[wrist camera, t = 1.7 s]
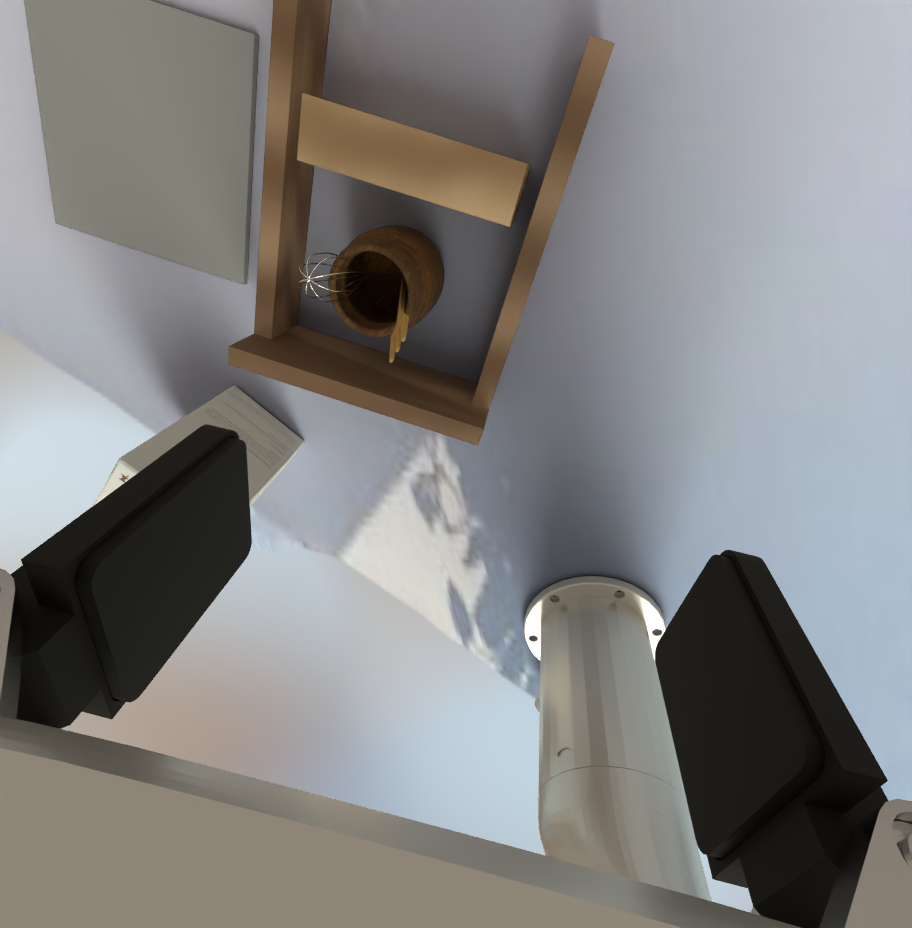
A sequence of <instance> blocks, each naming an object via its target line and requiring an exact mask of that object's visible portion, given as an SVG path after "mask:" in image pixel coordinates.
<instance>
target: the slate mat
mask: <svg viewBox="0 0 912 928" xmlns="http://www.w3.org/2000/svg"><path fill="white" fill-rule="evenodd" d="M24 4H25V11H26V18H27V25H28V32H29V39H30V46H31V53H32V60H33V67H34V74H35V81H36V88H37V95H38V102H39V109H40V117H41V124H42V131H43V138H44V145H45V152H46V159H47V166H48V173H49V180H50V187H51V194H52V201H53V208H54V215H55V222H56V224H59V225H62V226H65V227H68V228H71V229H74V230H77V231H80V232H84V233H87V234H90V235H93V236H96V237H99V238H102V239H105V240H108V241H111V242H114V243H117V244H120V245H123V246H127V247H130V248H133V249H136V250H139V251H142V252H145V253H148V254H151V255H154V256H157V257H160V258H163V259H166V260H169V261H173V262H176V263H179V264H182V265H185V266H188V267H191V268H194V269H197V270H200V271H203V272H206V273H209V274H212V275H216V276H219V277H222V278H225V279H228V280H231V281H234V282H237V283H240V284H243V285H244V284H247V276H248V255H249V234H250V213H251V192H252V171H253V150H254V129H255V108H256V88H257V67H258V46H259V36H257V35H255V34H252V33H249V32H246V31H243V30H240V29H237V28H234V27H231V26H228V25H225V24H222V23H219V22H215V21H212V20H209V19H206V18H203V17H200V16H197V15H194V14H191V13H188V12H185V11H182V10H179V9H175V8H172V7H169V6H166V5H163V4H160V3H157V2H154V1H151V0H24Z"/></svg>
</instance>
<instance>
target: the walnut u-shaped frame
mask: <svg viewBox="0 0 912 928" xmlns="http://www.w3.org/2000/svg"><path fill="white" fill-rule="evenodd" d="M331 1H332V0H274V1H273V18H272V35H271V52H270V70H269V87H268V104H267V121H266V138H265V156H264V173H263V190H262V207H261V225H260V242H259V259H258V276H257V293H256V311H255V328H254V334H253V335H251V336H249V337H247V338H245V339H243V340H240V341H238V342H236V343H234V344H232V345H230V346H229V361H228V364H229V365H232V366H235V367H238V368H241V369H244V370H247V371H250V372H254V373H257V374H260V375H263V376H266V377H269V378H272V379H275V380H278V381H281V382H284V383H287V384H290V385H293V386H296V387H300V388H303V389H306V390H309V391H312V392H315V393H318V394H321V395H324V396H327V397H330V398H333V399H336V400H339V401H342V402H346V403H349V404H352V405H355V406H358V407H361V408H364V409H367V410H370V411H373V412H376V413H379V414H382V415H385V416H389V417H392V418H395V419H398V420H401V421H404V422H407V423H410V424H413V425H416V426H419V427H422V428H425V429H428V430H431V431H435V432H438V433H441V434H444V435H447V436H450V437H453V438H456V439H459V440H462V441H465V442H468V443H471V444H474V445H477V446H478V444H479V441H480V438H481V436H482V433H483V430H484V426H485V422H486V418H487V415H488V411H489V408H490V405H491V402H492V399H493V396H494V393H495V390H496V387H497V384H498V381H499V379H500V376H501V373H502V370H503V367H504V364H505V361H506V358H507V355H508V352H509V349H510V346H511V344H512V341H513V338H514V335H515V332H516V329H517V326H518V323H519V320H520V317H521V314H522V312H523V309H524V306H525V303H526V300H527V297H528V294H529V291H530V288H531V285H532V282H533V279H534V277H535V274H536V271H537V268H538V265H539V262H540V259H541V256H542V253H543V250H544V247H545V244H546V242H547V239H548V236H549V233H550V230H551V227H552V224H553V221H554V218H555V215H556V212H557V209H558V207H559V204H560V201H561V198H562V195H563V192H564V189H565V186H566V183H567V180H568V177H569V174H570V172H571V169H572V166H573V163H574V160H575V157H576V154H577V151H578V148H579V145H580V142H581V140H582V137H583V134H584V131H585V128H586V125H587V122H588V119H589V116H590V113H591V110H592V107H593V105H594V102H595V99H596V96H597V93H598V90H599V87H600V84H601V81H602V78H603V75H604V72H605V70H606V67H607V64H608V61H609V58H610V55H611V52H612V49H613V46H614V43H612V42H609V41H606V40H603V39H600V38H597V37H594V36H591V35H590V36H589V39H588V42H587V46H586V49H585V52H584V55H583V58H582V61H581V64H580V67H579V71H578V74H577V77H576V80H575V83H574V86H573V89H572V92H571V96H570V99H569V102H568V105H567V108H566V111H565V114H564V117H563V121H562V124H561V127H560V130H559V133H558V136H557V139H556V142H555V145H554V149H553V152H552V155H551V158H550V161H549V164H548V167H547V170H546V174H545V177H544V180H543V183H542V186H541V189H540V192H539V195H538V199H537V202H536V205H535V208H534V211H533V214H532V217H531V220H530V224H529V227H528V230H527V233H526V236H525V239H524V242H523V245H522V248H521V252H520V255H519V258H518V261H517V264H516V267H515V270H514V273H513V277H512V280H511V283H510V286H509V289H508V292H507V295H506V298H505V302H504V305H503V308H502V311H501V314H500V317H499V320H498V323H497V327H496V330H495V333H494V336H493V339H492V342H491V345H490V348H489V351H488V355H487V358H486V361H485V364H484V367H483V370H482V373H481V376H480V380H479V383H475V382H472V381H468V380H465V379H462V378H459V377H456V376H453V375H450V374H447V373H444V372H441V371H438V370H435V369H432V368H429V367H425V366H422V365H419V364H416V363H413V362H410V361H407V360H404V359H401V358H398V357H394V360H393V362H392V363H391V362H389V356H390V355H389V354H386V353H382V352H379V351H376V350H373V349H370V348H367V347H364V346H361V345H358V344H355V343H352V342H349V341H346V340H343V339H340V338H336V337H333V336H330V335H327V334H324V333H321V332H318V331H315V330H312V329H309V328H306V327H303V326H300V325H298V317H299V307H300V298H301V288H302V283H299V281H301V280H302V278H303V274H302V273H303V269H304V265H302V266H300V265H301V264H304V259H305V250H306V240H307V231H308V221H309V212H310V202H311V192H312V183H313V173H314V165H311V164H308V163H305V162H302V161H298V160H297V152H298V140H299V127H300V115H301V102H302V93H305V94H308V95H311V96H314V97H317V98H320V99H321V97H322V87H323V78H324V68H325V59H326V49H327V39H328V30H329V20H330V11H331ZM299 266H300V270H301V271H302V273H301V272H300V270H299Z"/></svg>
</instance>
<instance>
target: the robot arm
mask: <svg viewBox="0 0 912 928" xmlns="http://www.w3.org/2000/svg"><path fill="white" fill-rule="evenodd" d="M251 542H252V539H251V521H250V503H249V484H248V466H247V448H246V443H245V441H243V440H240V439H239V435H238V433H237V432H235V431H234V430H229V429H225V428H221V427H217V426H213V425H209V424H205V425H203V426H201V427H199V428H198V429H197V430H195V431H194V432H193V433H191V434H190V435H189V436H187V437H186V438H184V439H183V440H182V441H180V442H179V443H178V444H176V445H175V446H174V447H172V448H171V449H170V450H168V451H167V452H166V453H164V454H163V455H162V456H160V457H159V458H157V459H156V460H155V461H153V462H152V463H151V464H149V465H148V466H147V467H145V468H144V469H143V470H141V471H140V472H139V473H137V474H136V475H135V476H133V477H132V478H130V479H129V480H128V481H126V482H125V483H124V484H122V485H121V486H120V487H118V488H117V489H116V490H114V491H113V492H112V493H110V494H109V495H107V496H106V497H105V498H103V499H102V500H101V501H99V502H98V503H97V504H95V505H94V506H93V507H91V508H90V509H89V510H87V511H86V512H85V513H83V514H82V515H80V516H79V517H78V518H77V519H75V520H74V521H72V522H71V523H70V524H68V525H67V526H66V527H64V528H63V529H62V530H60V531H59V532H57V533H56V534H55V535H54V536H52V537H51V538H49V539H48V540H47V541H46V542H44V543H43V544H41V545H40V546H39V547H37V548H36V549H35V550H33V551H32V552H31V553H29V554H28V555H27V556H25V557H24V558H23V559H21V561H22V564H23V566H21V567H20V568H19V569H17V570H16V571H15V572H13V573H12V574H11V575H10V574H9V573H8V572H7V571H6V570H3V569H0V928H912V801H906V800H901V799H895V800H891V801H888V799H887V797H886V796H885V794H884V792H883V790H882V788H881V786H882V785H883V784H884V783H885V782H887V781H888V780H887V778H886V777H885V775H884V773H883V771H882V770H881V768H880V766H879V764H878V762H877V761H876V759H875V757H874V755H873V754H872V752H871V750H870V748H869V747H868V745H867V743H866V741H865V739H864V738H863V736H862V734H861V732H860V731H859V729H858V727H857V725H856V724H855V722H854V720H853V718H852V716H851V715H850V713H849V711H848V709H847V708H846V706H845V704H844V702H843V701H842V699H841V697H840V695H839V693H838V692H837V690H836V688H835V686H834V685H833V683H832V681H831V679H830V678H829V676H828V674H827V672H826V670H825V669H824V667H823V665H822V663H821V662H820V660H819V658H818V656H817V655H816V653H815V651H814V649H813V647H812V646H811V644H810V642H809V640H808V639H807V637H806V635H805V633H804V632H803V630H802V628H801V626H800V624H799V623H798V621H797V619H796V617H795V616H794V614H793V612H792V610H791V609H790V607H789V605H788V603H787V601H786V600H785V598H784V596H783V594H782V593H781V591H780V589H779V587H778V586H777V584H776V582H775V580H774V578H773V577H772V575H771V573H770V571H769V570H768V568H767V566H766V564H765V563H764V561H763V560H762V559H761V558H759V557H757V556H753V555H748V554H744V553H740V552H736V551H732V550H725V551H724V552H722V553H721V554H720V555H713V556H712V557H711V558H710V559H709V561H708V562H707V564H706V566H705V567H704V569H703V570H702V572H701V574H700V575H699V577H698V578H697V580H696V582H695V583H694V585H693V587H692V588H691V590H690V591H689V593H688V595H687V596H686V598H685V599H684V601H683V603H682V604H681V606H680V607H679V609H678V611H677V612H676V614H675V616H674V617H673V619H672V620H671V622H670V624H669V625H668V627H667V628H666V625H665V621H664V617H663V615H662V613H661V610H660V608H659V607H658V605H657V604H656V603H655V601H654V600H653V599H652V598H651V597H650V596H649V595H647V594H646V593H645V592H644V591H642V590H641V589H639V588H637V587H635V586H634V585H632V584H629V583H626V582H624V581H621V580H618V579H613V578H608V577H599V576H584V577H575V578H571V579H566V580H563V581H560V582H558V583H555V584H553V585H551V586H549V587H547V588H546V589H544V590H543V591H541V592H540V593H539V594H538V595H537V596H536V597H535V598H534V599H533V600H532V602H531V603H530V605H529V606H528V608H527V611H526V614H525V620H524V636H525V639H526V642H527V645H528V647H529V648H530V650H531V652H532V653H533V654H534V655H535V656H536V657H537V659H538V660H539V661H540V693H539V695H538V697H537V698H536V700H535V706H536V708H537V710H538V711H539V712H540V726H539V728H540V729H539V797H538V822H539V823H538V824H539V832H540V838H541V842H542V845H543V849H544V852H545V855H546V856H544V855H541V854H537V853H533V852H530V851H526V850H522V849H519V848H515V847H511V846H507V845H504V844H500V843H496V842H492V841H489V840H485V839H481V838H478V837H474V836H470V835H467V834H463V833H459V832H455V831H452V830H448V829H444V828H440V827H436V826H432V825H429V824H425V823H422V822H418V821H414V820H410V819H407V818H403V817H399V816H396V815H392V814H388V813H384V812H381V811H377V810H373V809H369V808H365V807H362V806H358V805H354V804H350V803H346V802H343V801H339V800H336V799H332V798H328V797H324V796H320V795H316V794H313V793H309V792H305V791H301V790H298V789H294V788H290V787H286V786H283V785H279V784H275V783H271V782H267V781H263V780H260V779H256V778H252V777H248V776H244V775H240V774H237V773H233V772H229V771H225V770H221V769H217V768H213V767H209V766H206V765H202V764H198V763H195V762H191V761H187V760H183V759H179V758H175V757H171V756H168V755H164V754H160V753H156V752H153V751H149V750H145V749H141V748H137V747H133V746H129V745H124V744H120V743H116V742H112V741H108V740H104V739H100V738H96V737H91V736H87V735H83V734H79V733H74V732H71V731H69V725H71V723H72V722H73V721H74V720H75V719H76V718H77V716H78V715H79V714H80V713H81V712H82V711H83V712H86V713H90V714H94V715H97V716H101V717H105V718H109V719H113V717H114V716H115V715H116V714H117V712H118V711H119V710H120V709H121V707H122V706H123V705H124V703H125V702H132V701H134V700H136V699H137V698H138V697H139V696H140V695H141V694H142V693H143V691H144V690H145V689H146V687H147V686H148V685H149V684H150V682H151V681H152V680H153V678H154V677H155V676H156V674H157V673H158V672H159V671H160V669H161V668H162V667H163V665H164V664H165V663H166V662H167V660H168V659H169V658H170V656H171V655H172V654H173V652H174V651H175V650H176V649H177V647H178V646H179V645H180V643H181V642H182V641H183V640H184V638H185V637H186V635H187V634H188V633H189V632H190V630H191V629H192V628H193V627H194V625H195V624H196V623H197V621H198V620H199V619H200V617H201V616H202V615H203V614H204V612H205V611H206V610H207V608H208V607H209V606H210V605H211V603H212V602H213V601H214V599H215V598H216V597H217V595H218V594H219V593H220V592H221V590H222V589H223V588H224V586H225V585H226V584H227V583H228V581H229V580H230V578H231V577H232V576H233V575H234V573H235V572H236V571H237V569H238V568H239V567H240V566H241V564H242V563H243V562H244V560H245V559H246V558H247V556H248V554H249V551H250V548H251ZM655 663H656V664H655ZM656 667H657V668H656ZM657 672H658V673H657ZM658 676H659V677H658ZM660 685H661V686H660ZM661 689H662V690H661ZM663 698H664V699H663ZM665 707H666V708H665ZM666 711H667V712H666ZM668 720H669V721H668ZM671 733H672V734H671ZM686 799H687V800H686ZM696 842H697V843H696ZM697 845H698V847H699V849H700V851H701V852H702V853H703V854H706V855H707V857H708V861H709V865H710V869H711V874H712V878H713V879H715V880H718V881H722V882H726V883H730V884H734V885H737V886H741V887H745V888H747V887H748V889H749V893H750V896H751V900H752V903H753V909H752V911H751V913H749V912H746V911H742V910H739V909H735V908H732V907H728V906H725V905H722V904H718V903H715V902H712V901H711V897H710V894H709V890H708V886H707V883H706V878H705V874H704V871H703V867H702V863H701V859H700V855H699V851H698V847H697Z"/></svg>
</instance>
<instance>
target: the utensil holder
mask: <svg viewBox="0 0 912 928" xmlns="http://www.w3.org/2000/svg"><path fill="white" fill-rule="evenodd" d="M324 253H326V252H324ZM324 253H314V254H324ZM314 254H312V255H314ZM327 254H333V253H327ZM312 255H311V256H312ZM333 255H336V254H333ZM311 256H310V257H311ZM310 257H309V258H308V261H309V259H310ZM334 257H337V258H336V260H335V261H334V263H333V265H329V264H324V265H329V266H332V268H331V271H330V274H328V275H329V279H327V280H329V289H327V288H324V287H322V286H320V285H318V284H316V283H315V282H318V281H312V280H310V279H313V278H318V277H323V276H328V275H322V276H317V277H313V278H310V277H311V275H312V273H313V271H314V270H315V268H316V267H317V266H318V265H319V264H323V263H321V262H323V261H324V260H326V259H328V258H334ZM334 257H328V258H325V259H324V260H322V261H321V262H320V263H308V261H307V264H301V265H300V266H302V265H307V266H308V264H318V265H317V266H316V267H315V268H314V269H313V271H312V272H311V274H310V276H308V269H307V266H306V269H307V276H308V277H306V276H305V275H304V274H303V273H302V271H301V270H300V266H299V270H300V272H301V273H302V274H303V275H304V276H305V277H306V278H307V279H305V280H308V281H309V283H310V282H313V283H314V284H316V285H318V286H320V287H322V288H324V289H327V290H329V293H330V295H326V296H330V298H331V301H326V302H332V304H333V306H334V308H335V310H336V312H337V313H338V315H339V316H340V318H341V319H342V320H343V321H344V322H345V323H346V324H347V325H348V326H349V327H351V328H352V329H354V330H355V331H357V332H359V333H361V334H364V335H368V336H374V337H380V336H387V335H391V334H392V335H391V339H390V356H389V362H391V363H392V362H393V360H394V357H395V352H398V351H399V350H400V345H401V341H402V342H404V341H405V339H406V335H407V329H408V328H410V327H412V326H413V325H415V324H416V323H418V322H419V321H420V320H421V319H422V318H423V317H424V316H425V315H426V314H427V313H428V312H429V311H430V310H431V309H432V307H433V306H434V305H435V303H436V302H437V300H438V298H439V296H440V294H441V291H442V287H443V282H444V269H443V264H442V260H441V257H440V255H439V253H438V251H437V249H436V248H435V246H434V245H433V243H432V242H431V241H430V240H429V239H428V238H427V237H426V236H425V235H423V234H422V233H420V232H419V231H417V230H415V229H412V228H409V227H405V226H387V227H382V228H378V229H375V230H371V231H368V232H366V233H364V234H362V235H360V236H359V237H357V238H356V239H354V240H353V241H352V242H351V243H350V244H349V245H348V247H346V248H345V249H344V250H343V251H342V252H341V253H340V254H339V256H338V255H336V256H334ZM305 280H301V281H299V283H307V284H308V281H307V282H302V281H305ZM319 281H326V280H319ZM307 284H306V294H307ZM310 285H311V283H310ZM311 288H312V285H311ZM312 290H313V288H312ZM313 291H314V290H313ZM314 293H315V291H314ZM315 294H316V293H315ZM316 295H317V294H316ZM307 296H308V297H310V296H309V295H308V294H307ZM317 296H318V295H317ZM326 296H320V297H326ZM320 297H319V296H318V297H310V298H320ZM320 299H321V298H320ZM321 300H323V299H321ZM323 301H325V300H323Z"/></svg>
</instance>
